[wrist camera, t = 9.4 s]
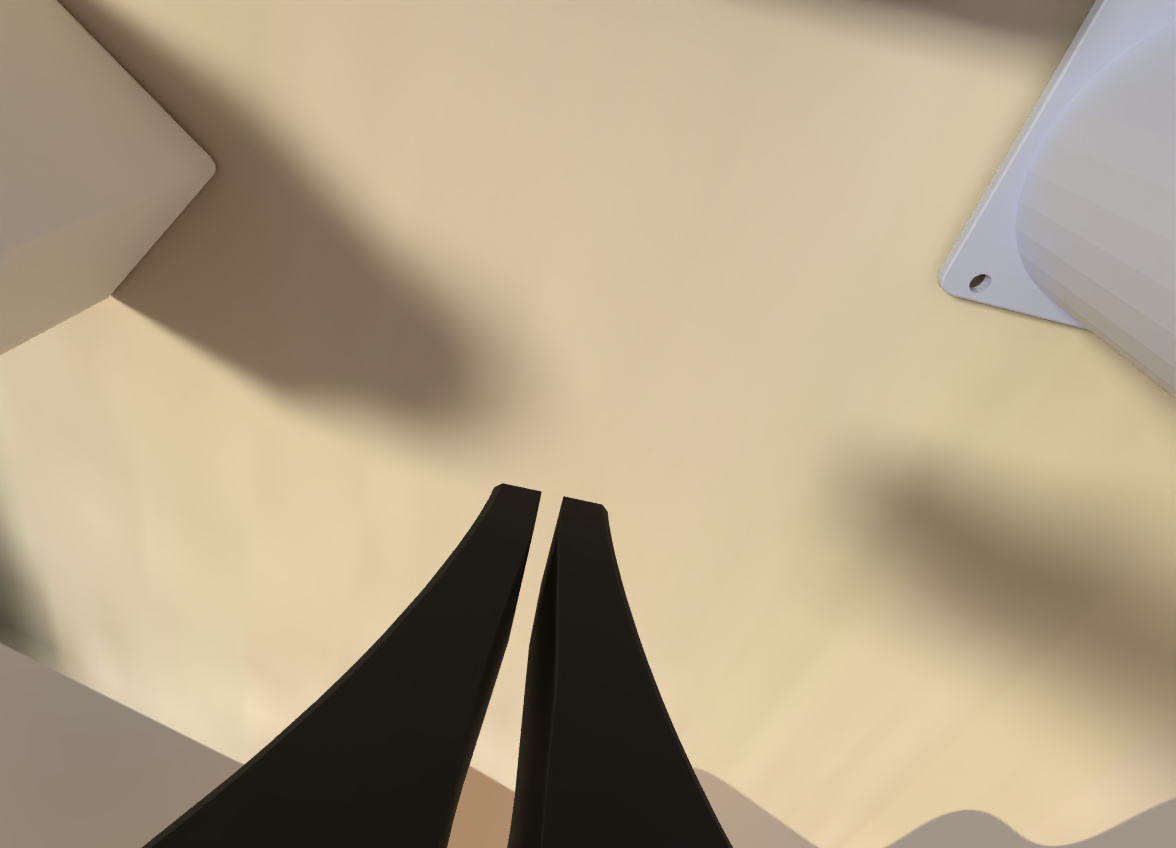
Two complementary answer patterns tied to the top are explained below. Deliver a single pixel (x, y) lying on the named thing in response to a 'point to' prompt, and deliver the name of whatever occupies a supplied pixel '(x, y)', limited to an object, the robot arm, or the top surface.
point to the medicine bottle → (78, 170)
